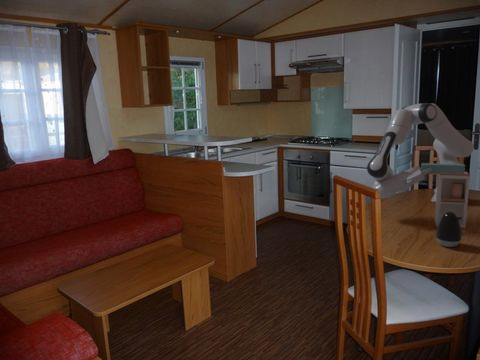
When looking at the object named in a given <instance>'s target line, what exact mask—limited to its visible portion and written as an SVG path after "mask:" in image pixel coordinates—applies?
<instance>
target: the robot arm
mask: <svg viewBox="0 0 480 360" xmlns="http://www.w3.org/2000/svg"><path fill="white" fill-rule="evenodd" d="M420 124H424V125H425V126H426V128H427V130H428V131H429V132H430V134H431V135H432V137H434V141H433V144H432V147H433V150H434V151H435V152H436V154H437V156H438V160H439V164H461V163H460V162H459V160H458V158H467V157H470V155H472V154H473V152H474V144H473V142H472V141H471V140H469V139H467V138H466V137H465V136H463V134H461V133H460V132H459V131H458V130H457V129H456V128H455V127H454V126H453V124H452V123H451V122H450V120H449V119H448V117H447V116H446V115H445V113H444V111H443V110H442V109H441V108H440V107H439V106H438V105H437V104H435V103H432V102H431V103H429V102H424V103H415V104H411V105H406V106H403V107H402V108H399V109H396V111H394V113H393V115H392V117H391V118H390V120H389V123H388V126H387V129H386V131H385V133H384V135H383V137H381V141H380V143H379V145H378V147H377V150H376V152H375V154H374V155H373V157H372V158H371V159H370V160H369V162H368V163H367V166H366V170H367V171H366V172H367V173H368V175H369V176H371V177H372V178H373V186H372V188H375V189H378V190H380V191H381V198H380V200H381V199H387V198H390V197H392V196H394V195H396V194H397V193H399V192H403V191H405V190H407V189H410V188H412V187H413V186H412V185H415V184H417V183H419V182H422V181H424V180H425V175H427V173H429V172H430V171H432V169H431V167H429V168H427V169H426V170H423V171H421V167H420V166H421V165H416V166H413V167H411V168H408V169H407V170H401V171H400V172H399V173H398V172H397V173H396V174H394V170H393V169H392V168H391V166H390V165H389V164H388V157H389V155H390V153H391V151H392V149H393V147H394V145H402V144H404V142H406V140H407V138H408V136H409V133H410V130H411V127H412V126H415V125H420ZM433 193H434V194H433V196H432V198H431V201H430V202H433V203H436V194H437V187H435V188H434V189H433Z"/></svg>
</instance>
